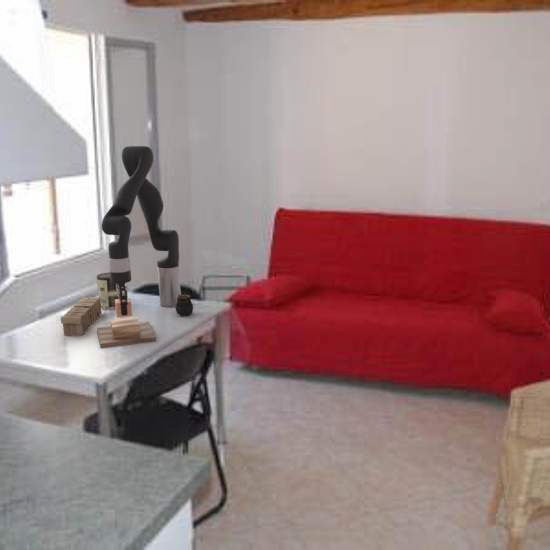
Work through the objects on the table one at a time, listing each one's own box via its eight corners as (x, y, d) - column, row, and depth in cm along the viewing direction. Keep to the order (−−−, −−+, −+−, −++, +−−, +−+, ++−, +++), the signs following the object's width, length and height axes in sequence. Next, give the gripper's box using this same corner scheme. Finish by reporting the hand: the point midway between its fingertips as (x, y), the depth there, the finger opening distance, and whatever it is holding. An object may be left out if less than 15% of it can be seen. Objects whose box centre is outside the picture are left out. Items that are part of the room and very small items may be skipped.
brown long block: (84, 316, 280) (61, 337, 251) (82, 297, 278) (59, 316, 249) (102, 316, 280) (82, 336, 251) (100, 296, 278) (80, 315, 249)
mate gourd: (195, 312, 278) (194, 289, 275) (190, 317, 270) (189, 294, 268) (179, 311, 279) (178, 289, 276) (173, 317, 272) (172, 294, 269)
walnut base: (97, 331, 257) (95, 317, 255) (148, 324, 262) (147, 311, 261) (100, 347, 238) (99, 333, 237) (155, 340, 244) (154, 326, 243)
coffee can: (125, 302, 295) (123, 271, 292) (120, 309, 285) (117, 277, 282) (102, 302, 296) (100, 272, 292) (96, 309, 285) (93, 278, 282)
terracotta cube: (115, 313, 250) (114, 299, 249) (130, 311, 252) (129, 298, 250) (117, 317, 245) (115, 303, 244) (132, 315, 246) (131, 301, 245)
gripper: (132, 272, 238) (136, 317, 242) (128, 264, 252) (131, 306, 256) (111, 274, 236) (115, 319, 240) (108, 266, 250) (112, 309, 254)
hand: (123, 312), depth 248 cm, fingers closed on terracotta cube, 5 cm apart
